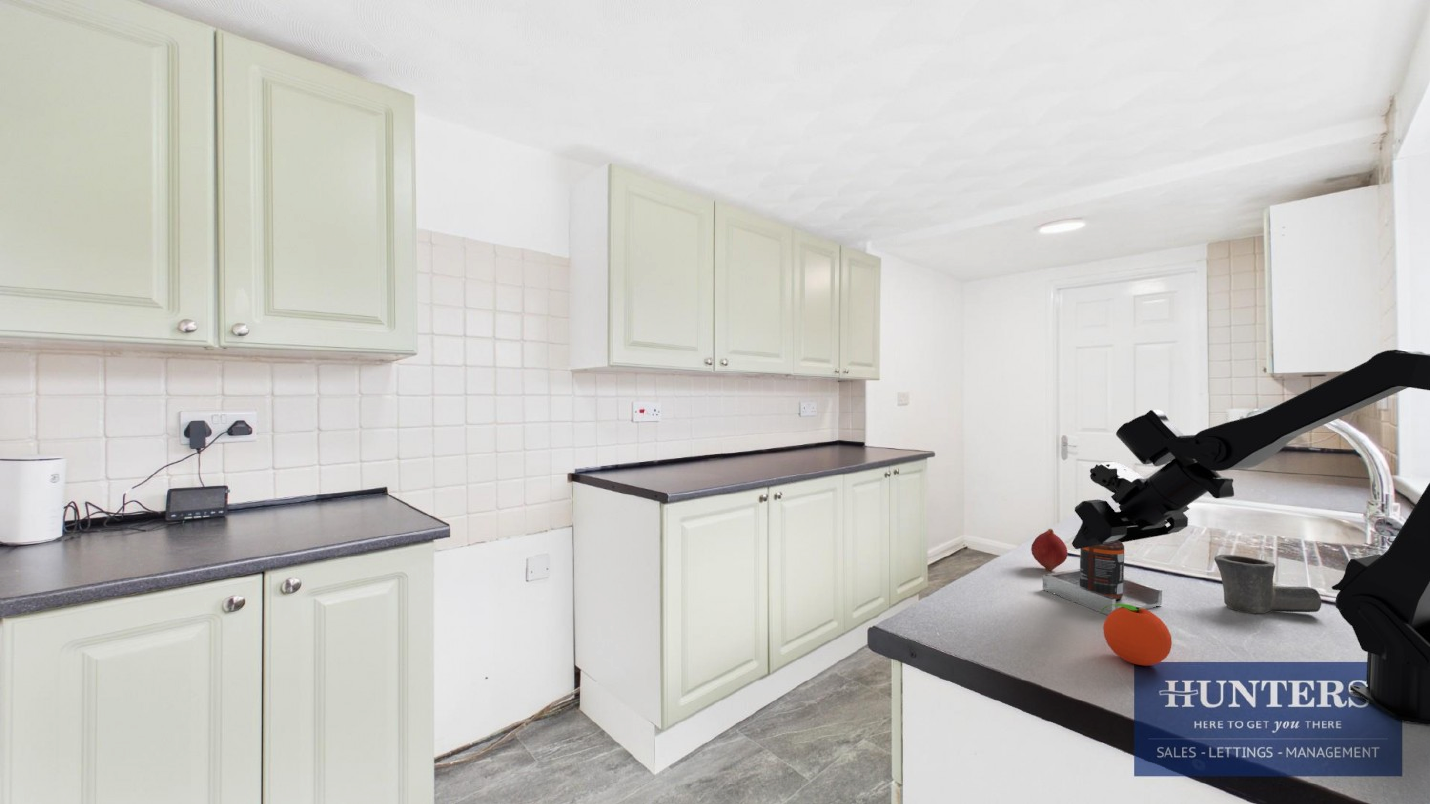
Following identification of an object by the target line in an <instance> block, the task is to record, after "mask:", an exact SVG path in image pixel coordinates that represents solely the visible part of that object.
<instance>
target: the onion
mask: <svg viewBox="0 0 1430 804" xmlns="http://www.w3.org/2000/svg"><path fill="white" fill-rule="evenodd" d="M1030 550H1031V554H1032V557H1033V558H1034V559H1035V561H1036V562H1037V563H1039V564H1040V565H1041V566H1042V567H1043V568H1044V569H1045V570H1047V571H1053V570H1054V569H1056V568H1057V567H1059V566H1061V565H1062V564H1063V563H1064V562H1065V561H1066V560H1067V558H1068V548H1067V546H1066V544H1065V542H1064V541H1063V539H1061V537H1059V536H1058V535H1057V534H1055V533H1054V529H1053V528H1048V529H1047V530H1046V531H1044V532H1042V533H1040V534H1039V535H1037V536H1036V537H1035V539H1034V540H1033V542H1032V544H1031V549H1030Z"/></svg>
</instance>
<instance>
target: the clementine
mask: <svg viewBox="0 0 1430 804" xmlns="http://www.w3.org/2000/svg"><path fill="white" fill-rule="evenodd" d="M1113 605H1116V606H1121V608H1118V609H1115V610H1113V611H1112V612H1111V613H1110V614H1109V615H1107V616H1106V618H1105V619H1104V621H1103V627H1102V630H1103V636H1104V638H1105V639H1104V640H1105V641H1106V644H1107V645H1108V647H1109V648H1110V649H1111V650H1112V652H1113V653H1114V654H1115V655H1117V656H1118V657H1119V658H1120V659H1122V660H1124V661H1126V662H1128V663H1131V664H1133V665H1139V666H1145V667H1147V666H1153V665H1156V664H1159V663H1161V662H1162V661H1164V660H1165V659H1167V657H1168V656H1169V654H1170V653H1171V649H1172V644H1173V641H1172V635H1171V632H1170V630H1169V628H1168V626H1167V624H1165V623H1164V621H1163V620H1162V618H1160V617H1158V616H1157V615H1156V614H1154V613H1153V612H1151V611H1149V609H1143V608H1139V607H1135V606H1132V605H1127V604H1113ZM1108 606H1111V605H1108ZM1108 606H1106V607H1108ZM1106 607H1104V608H1106ZM1104 608H1103V609H1102V611H1103V610H1104ZM1102 611H1101V612H1102ZM1101 612H1099V615H1101V614H1102V613H1101Z"/></svg>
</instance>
